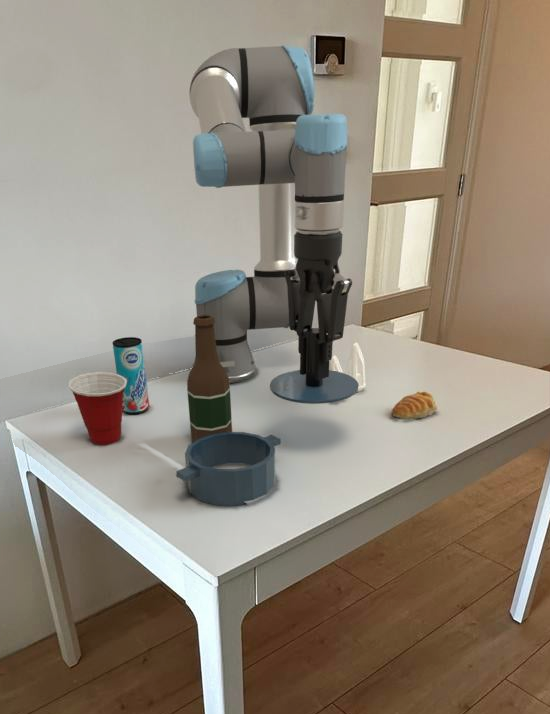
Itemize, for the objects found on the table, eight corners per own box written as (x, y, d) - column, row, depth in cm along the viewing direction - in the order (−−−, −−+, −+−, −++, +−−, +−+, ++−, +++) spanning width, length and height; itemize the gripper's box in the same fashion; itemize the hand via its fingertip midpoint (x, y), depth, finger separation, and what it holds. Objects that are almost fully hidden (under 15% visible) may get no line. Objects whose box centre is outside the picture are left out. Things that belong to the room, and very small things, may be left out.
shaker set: (357, 385, 144) (360, 337, 138) (371, 390, 141) (375, 341, 136) (320, 398, 138) (321, 349, 132) (334, 404, 135) (336, 353, 129)
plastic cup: (108, 455, 118) (99, 394, 111) (67, 444, 123) (55, 385, 116) (145, 434, 125) (138, 376, 119) (105, 424, 130) (96, 367, 124)
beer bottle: (191, 436, 123) (181, 312, 111) (231, 434, 124) (225, 309, 111) (192, 454, 117) (181, 324, 104) (234, 451, 117) (228, 321, 105)
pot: (158, 487, 106) (154, 454, 103) (249, 452, 117) (248, 420, 114) (209, 522, 97) (207, 486, 93) (304, 480, 107) (305, 446, 104)
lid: (252, 389, 113) (250, 330, 108) (314, 368, 121) (315, 313, 116) (313, 414, 103) (314, 351, 97) (376, 390, 111) (381, 330, 105)
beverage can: (125, 417, 133) (115, 347, 125) (119, 407, 138) (109, 339, 130) (152, 412, 135) (144, 343, 127) (145, 403, 140) (137, 335, 132)
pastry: (409, 425, 124) (411, 407, 122) (382, 416, 129) (384, 398, 127) (438, 412, 129) (441, 395, 127) (412, 404, 134) (414, 386, 132)
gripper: (266, 228, 102) (268, 369, 114) (339, 239, 91) (332, 393, 103) (300, 223, 106) (298, 359, 118) (374, 232, 95) (363, 381, 107)
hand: (314, 375), depth 111 cm, fingers closed on lid, 3 cm apart
